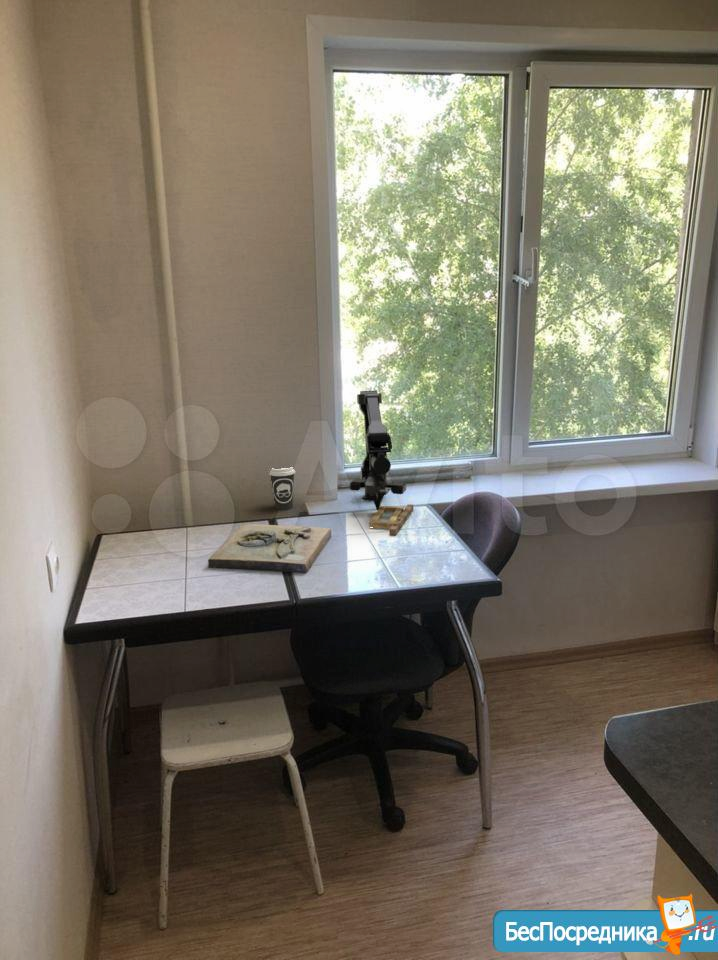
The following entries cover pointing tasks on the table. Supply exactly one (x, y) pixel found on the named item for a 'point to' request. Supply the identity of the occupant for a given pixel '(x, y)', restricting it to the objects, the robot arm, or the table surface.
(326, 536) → the plaque
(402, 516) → the rail
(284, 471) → the coffee cup
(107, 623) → the table surface
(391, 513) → the frame
